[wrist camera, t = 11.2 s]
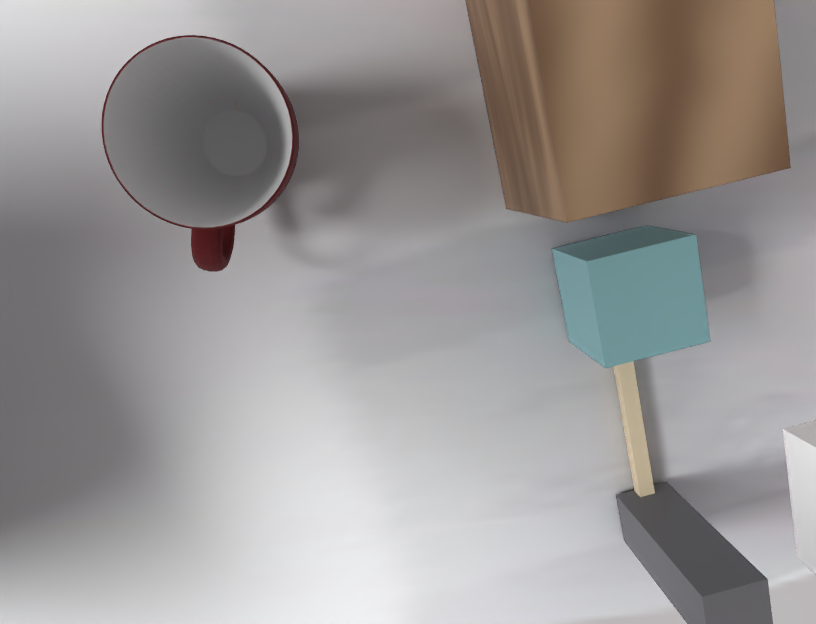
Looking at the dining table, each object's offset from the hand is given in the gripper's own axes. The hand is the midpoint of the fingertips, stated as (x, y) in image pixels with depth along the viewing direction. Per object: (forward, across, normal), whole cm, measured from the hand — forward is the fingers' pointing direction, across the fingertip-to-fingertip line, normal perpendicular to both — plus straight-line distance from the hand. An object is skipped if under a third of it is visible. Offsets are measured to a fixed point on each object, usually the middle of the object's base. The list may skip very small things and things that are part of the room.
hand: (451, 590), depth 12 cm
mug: (+30, -5, +9) cm, 32 cm away
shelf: (+29, +15, +9) cm, 34 cm away
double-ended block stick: (+29, +15, -10) cm, 34 cm away
